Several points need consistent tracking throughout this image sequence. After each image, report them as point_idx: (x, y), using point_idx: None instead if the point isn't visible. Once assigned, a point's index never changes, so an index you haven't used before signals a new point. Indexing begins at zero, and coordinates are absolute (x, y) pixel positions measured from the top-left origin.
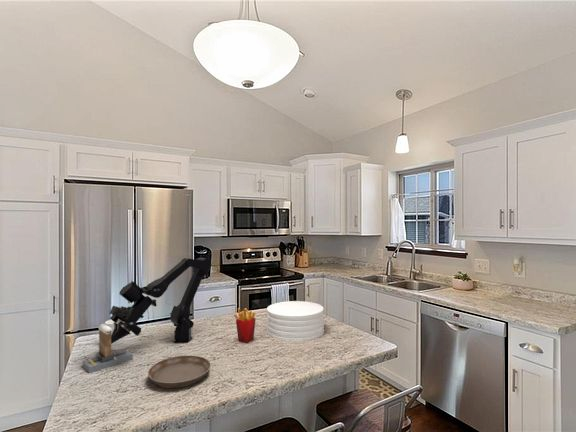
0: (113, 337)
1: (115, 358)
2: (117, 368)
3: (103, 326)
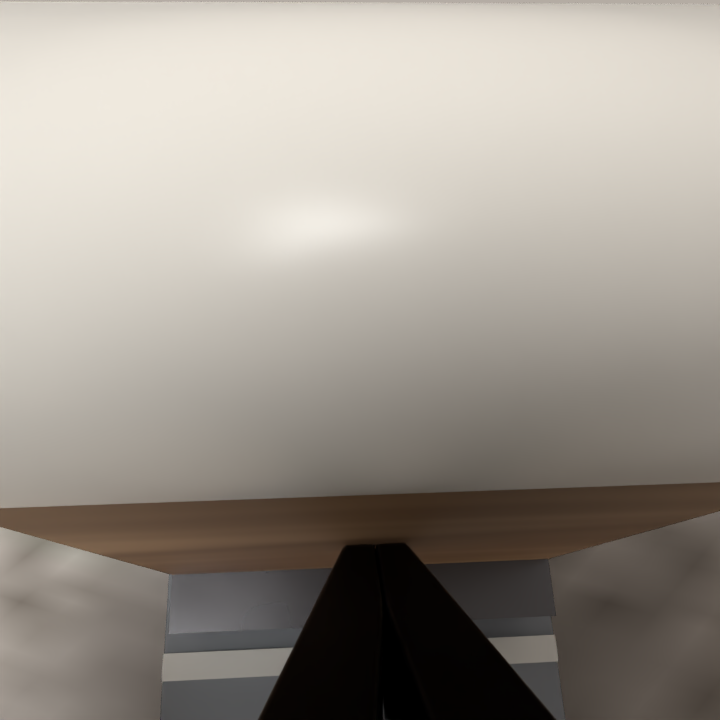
0: (278, 703)
1: (202, 666)
2: (21, 630)
3: (408, 11)
